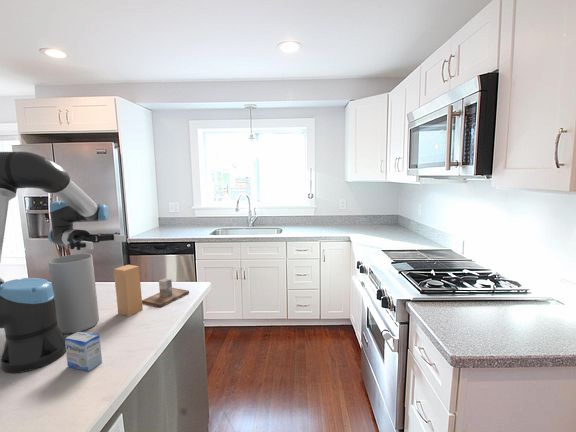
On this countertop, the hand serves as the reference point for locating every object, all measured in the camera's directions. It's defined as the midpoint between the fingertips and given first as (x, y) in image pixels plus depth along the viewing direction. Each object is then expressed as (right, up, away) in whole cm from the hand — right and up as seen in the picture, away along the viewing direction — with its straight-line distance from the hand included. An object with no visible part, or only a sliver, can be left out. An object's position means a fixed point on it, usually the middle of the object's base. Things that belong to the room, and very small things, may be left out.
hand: (109, 242), depth 119 cm
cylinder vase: (-4, -29, -11) cm, 32 cm away
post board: (+18, -26, +13) cm, 34 cm away
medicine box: (+14, -32, -34) cm, 49 cm away
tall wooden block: (+9, -28, 0) cm, 29 cm away
